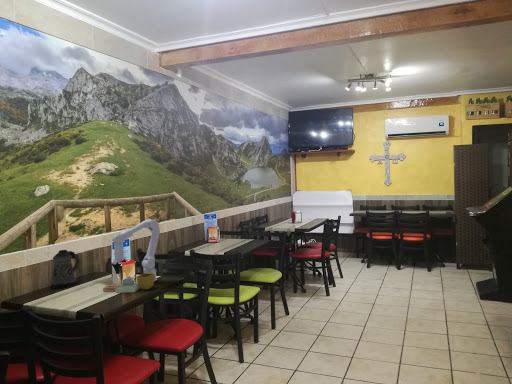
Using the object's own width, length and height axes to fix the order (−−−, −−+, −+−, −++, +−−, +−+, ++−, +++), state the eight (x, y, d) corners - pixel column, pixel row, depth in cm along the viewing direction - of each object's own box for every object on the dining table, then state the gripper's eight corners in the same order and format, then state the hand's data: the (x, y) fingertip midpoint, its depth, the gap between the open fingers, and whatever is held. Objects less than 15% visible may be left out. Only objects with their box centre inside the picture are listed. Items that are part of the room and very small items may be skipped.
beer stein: (45, 288, 276) (42, 252, 274) (66, 280, 294) (64, 247, 293) (64, 289, 270) (61, 253, 269) (84, 281, 289) (82, 247, 288)
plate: (123, 288, 259) (123, 277, 259) (133, 288, 259) (133, 278, 258) (123, 288, 258) (123, 278, 258) (133, 289, 258) (133, 278, 257)
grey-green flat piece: (123, 287, 265) (123, 282, 265) (141, 287, 263) (141, 282, 263) (116, 292, 254) (115, 287, 254) (134, 292, 252) (134, 286, 252)
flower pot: (148, 290, 254) (147, 277, 254) (136, 290, 257) (136, 276, 257) (156, 286, 262) (155, 273, 262) (144, 286, 265) (143, 273, 265)
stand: (108, 288, 264) (107, 285, 264) (120, 288, 263) (120, 284, 263) (103, 291, 258) (102, 287, 257) (116, 291, 256) (115, 287, 256)
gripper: (118, 250, 272) (119, 270, 272) (108, 254, 257) (109, 275, 258) (128, 250, 271) (129, 269, 271) (118, 254, 256) (119, 275, 257)
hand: (120, 272), depth 265 cm, fingers open, 7 cm apart
